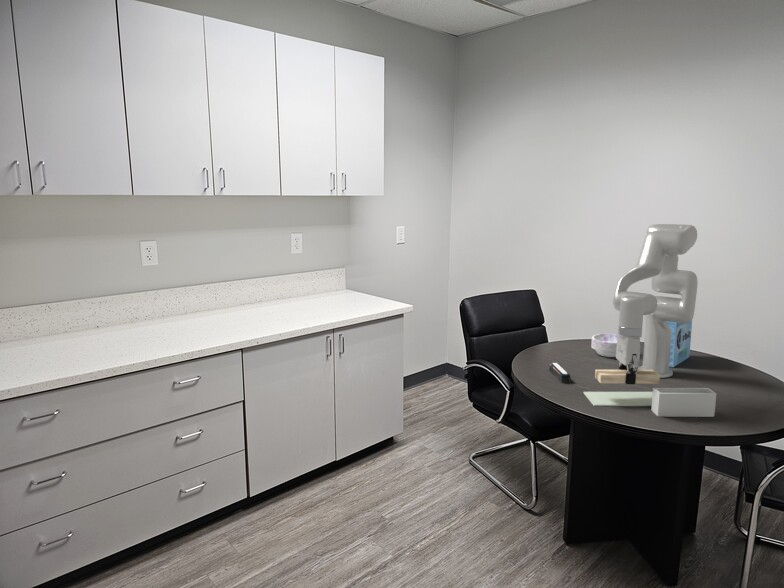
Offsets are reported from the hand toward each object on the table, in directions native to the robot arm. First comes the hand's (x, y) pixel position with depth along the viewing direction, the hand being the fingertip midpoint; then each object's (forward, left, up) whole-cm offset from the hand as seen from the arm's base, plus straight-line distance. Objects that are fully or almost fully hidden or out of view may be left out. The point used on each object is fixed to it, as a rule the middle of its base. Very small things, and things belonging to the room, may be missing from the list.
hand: (626, 380), depth 187 cm
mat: (0, 0, -7) cm, 7 cm away
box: (+12, +14, -7) cm, 20 cm away
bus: (-26, -16, -8) cm, 32 cm away
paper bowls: (-53, +12, -8) cm, 55 cm away
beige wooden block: (0, 0, 0) cm, 0 cm away
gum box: (-43, +37, -8) cm, 57 cm away
